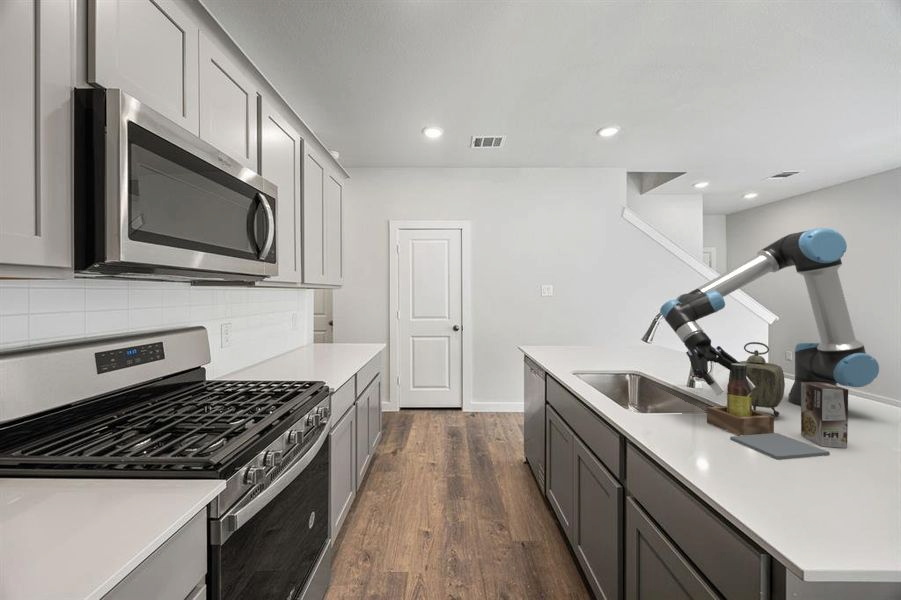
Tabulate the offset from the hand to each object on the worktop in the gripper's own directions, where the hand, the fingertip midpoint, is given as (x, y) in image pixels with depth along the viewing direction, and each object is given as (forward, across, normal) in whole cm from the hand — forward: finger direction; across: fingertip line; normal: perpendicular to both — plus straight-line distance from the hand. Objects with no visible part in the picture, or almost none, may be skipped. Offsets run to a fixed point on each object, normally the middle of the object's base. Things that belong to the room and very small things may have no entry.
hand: (736, 391), depth 125 cm
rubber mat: (+18, +5, +2) cm, 19 cm away
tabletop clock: (+3, -19, -13) cm, 23 cm away
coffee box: (+20, -12, +4) cm, 23 cm away
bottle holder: (+8, -1, -8) cm, 11 cm away
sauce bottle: (+8, -1, -8) cm, 12 cm away
